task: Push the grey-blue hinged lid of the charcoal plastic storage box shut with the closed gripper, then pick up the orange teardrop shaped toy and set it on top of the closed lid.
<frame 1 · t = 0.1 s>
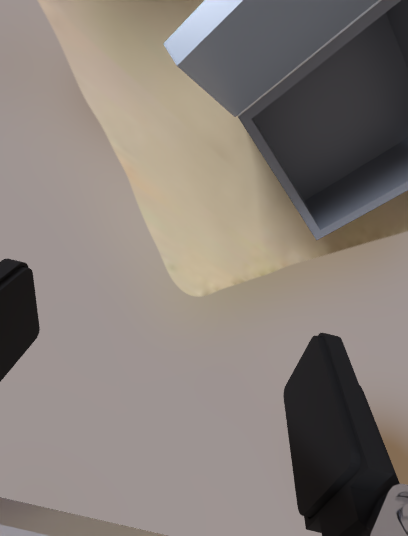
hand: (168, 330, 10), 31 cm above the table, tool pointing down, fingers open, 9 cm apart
storage box: (335, 117, 33), on the table
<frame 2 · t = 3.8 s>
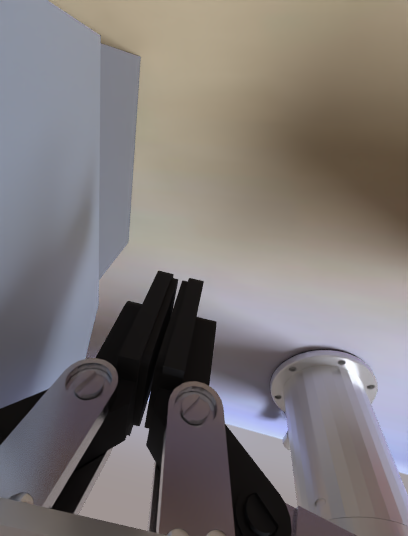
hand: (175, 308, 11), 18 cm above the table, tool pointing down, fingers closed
storage box: (57, 146, 27), on the table
lid: (60, 260, 12), point 17 cm above the table, hinge at 104.9°, touching gripper
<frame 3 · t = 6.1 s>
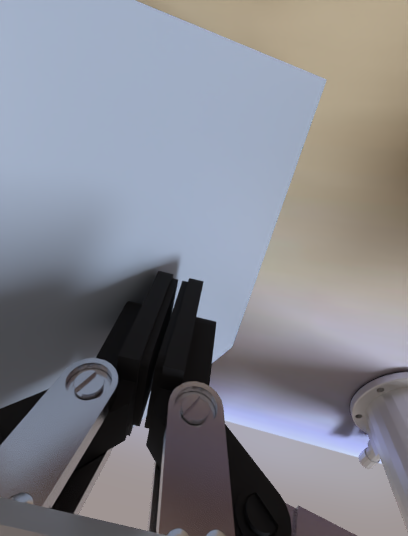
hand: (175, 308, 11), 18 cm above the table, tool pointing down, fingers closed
lid: (171, 283, 12), point 16 cm above the table, hinge at 54.9°, touching gripper
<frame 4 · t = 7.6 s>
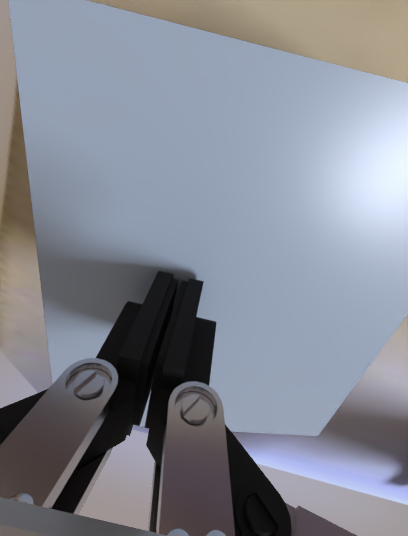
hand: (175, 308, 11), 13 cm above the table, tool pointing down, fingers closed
lid: (232, 305, 12), point 12 cm above the table, hinge at 9.9°, touching gripper
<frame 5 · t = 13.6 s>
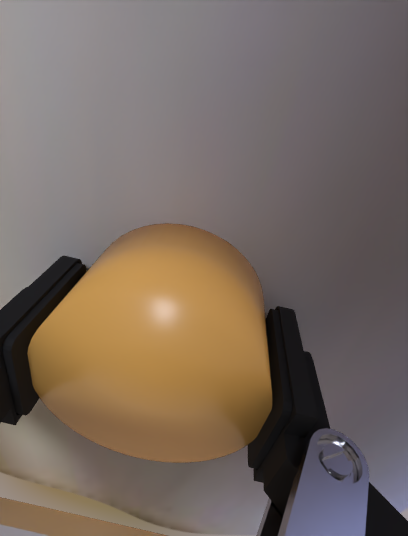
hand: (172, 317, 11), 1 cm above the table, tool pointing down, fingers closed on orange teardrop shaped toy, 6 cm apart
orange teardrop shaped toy: (176, 303, 11), on the table, touching gripper
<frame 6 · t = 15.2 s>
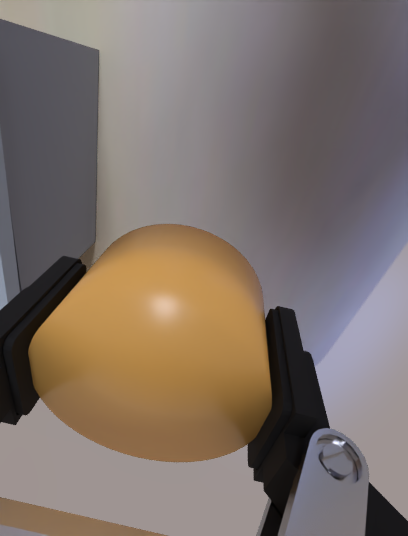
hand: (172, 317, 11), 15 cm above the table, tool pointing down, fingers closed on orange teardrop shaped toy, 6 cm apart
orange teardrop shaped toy: (176, 303, 11), point 14 cm above the table, touching gripper
when the fingers open (13 cm above the table, at t = 17.3 s): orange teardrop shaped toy drops 1 cm, resting on lid.
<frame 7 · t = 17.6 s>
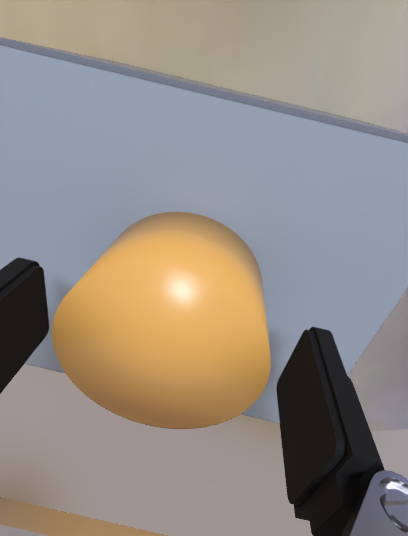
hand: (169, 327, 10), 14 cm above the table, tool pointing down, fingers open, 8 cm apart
storage box: (209, 199, 22), on the table
lid: (183, 283, 13), point 11 cm above the table, hinge at 0.8°, touching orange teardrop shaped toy
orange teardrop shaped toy: (182, 287, 12), point 11 cm above the table, touching lid
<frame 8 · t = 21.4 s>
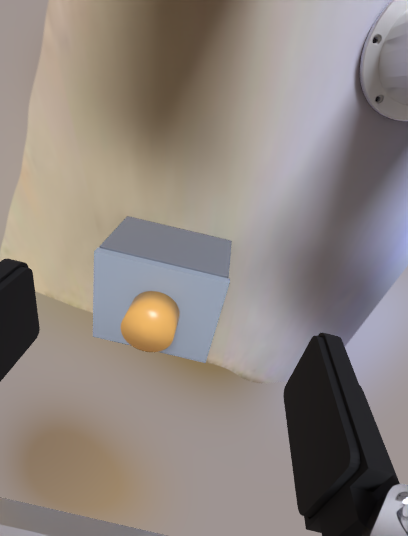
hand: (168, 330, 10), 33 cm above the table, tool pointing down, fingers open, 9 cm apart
storage box: (172, 267, 48), on the table
lid: (155, 309, 39), point 11 cm above the table, hinge at 0.8°, touching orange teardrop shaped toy
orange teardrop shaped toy: (155, 311, 39), point 11 cm above the table, touching lid
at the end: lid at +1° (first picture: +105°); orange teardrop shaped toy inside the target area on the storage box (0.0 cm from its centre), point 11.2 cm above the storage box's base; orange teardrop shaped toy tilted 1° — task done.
